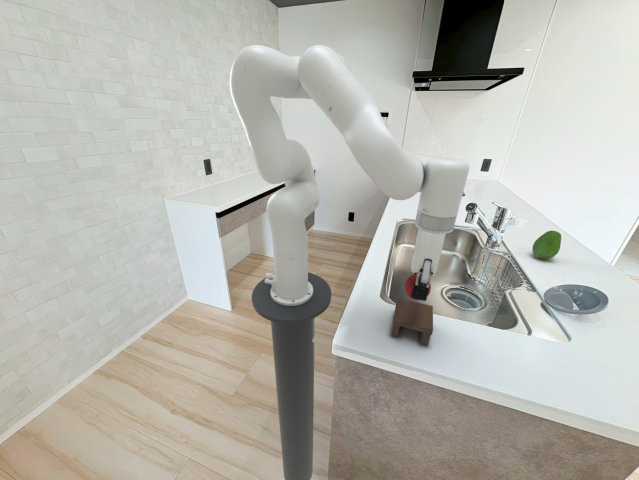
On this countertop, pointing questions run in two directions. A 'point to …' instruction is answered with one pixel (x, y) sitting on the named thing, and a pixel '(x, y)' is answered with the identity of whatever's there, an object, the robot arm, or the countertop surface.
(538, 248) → the avocado
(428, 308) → the stand
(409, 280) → the onion
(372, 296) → the countertop surface
